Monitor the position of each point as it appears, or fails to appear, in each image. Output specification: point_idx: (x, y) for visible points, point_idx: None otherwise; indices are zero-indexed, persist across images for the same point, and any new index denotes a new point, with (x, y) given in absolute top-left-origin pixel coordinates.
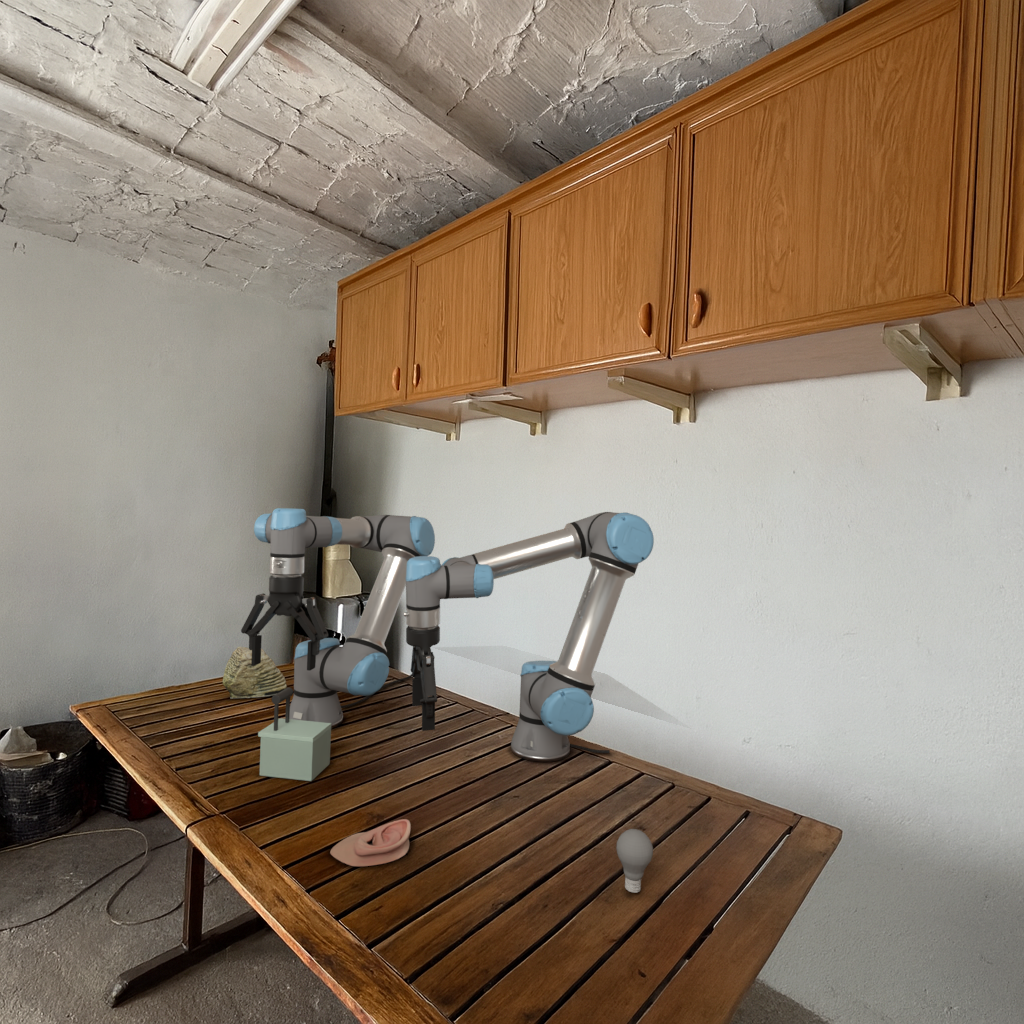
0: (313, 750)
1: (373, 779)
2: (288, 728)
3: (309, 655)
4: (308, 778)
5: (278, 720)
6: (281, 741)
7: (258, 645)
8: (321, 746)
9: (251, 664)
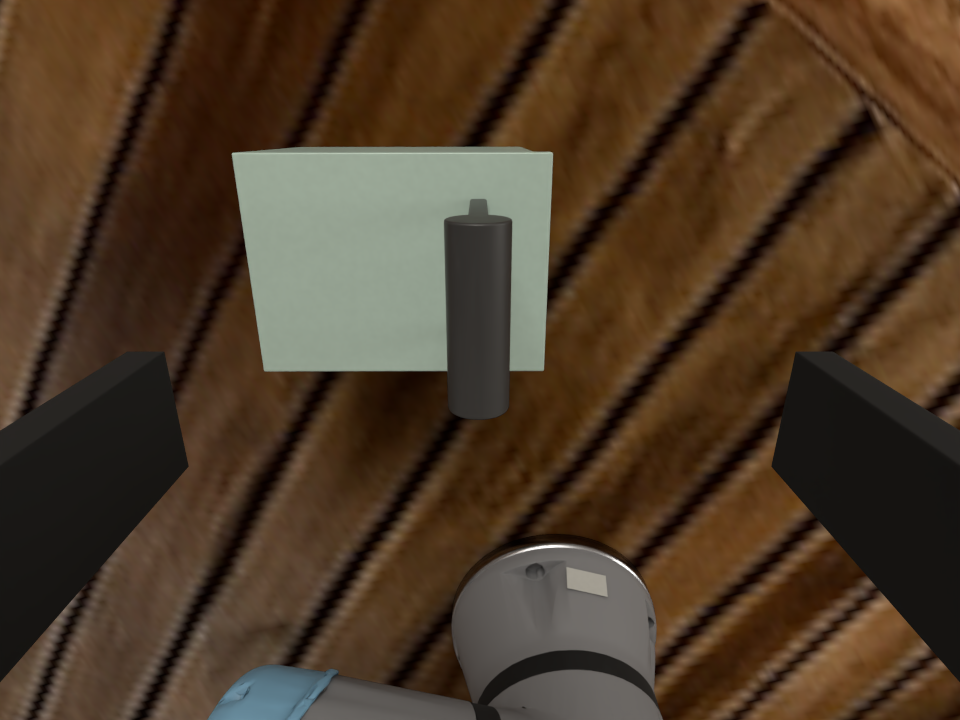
0: None
1: (91, 224)
2: (427, 249)
3: (13, 434)
4: (310, 147)
5: (534, 340)
6: (417, 151)
7: (931, 554)
8: None
9: (838, 357)
